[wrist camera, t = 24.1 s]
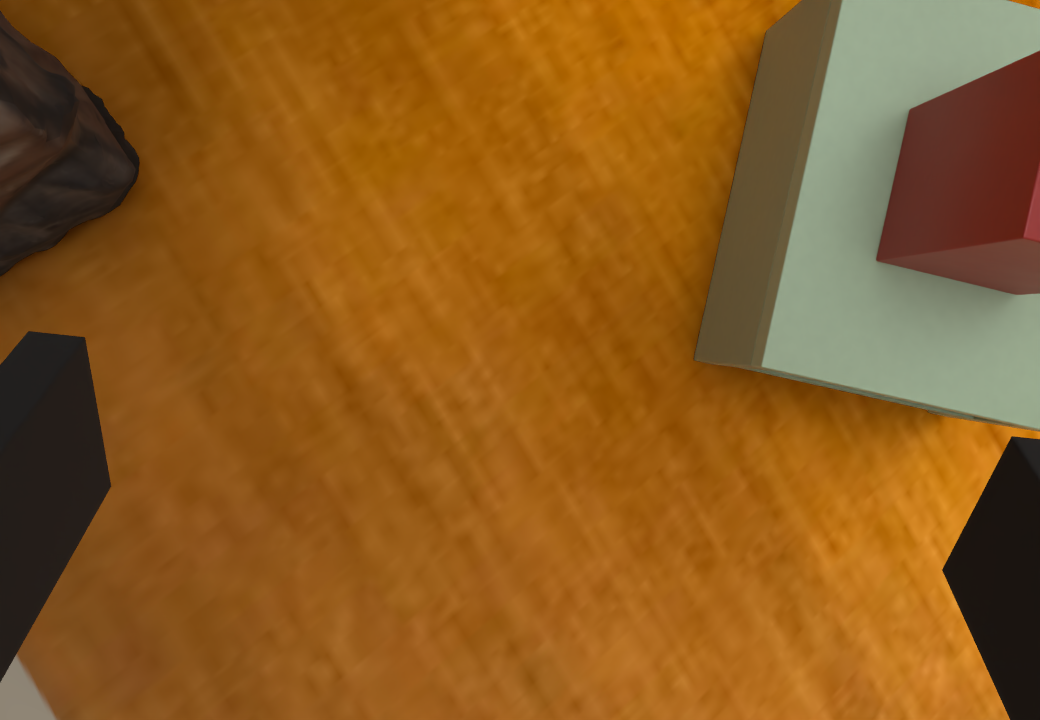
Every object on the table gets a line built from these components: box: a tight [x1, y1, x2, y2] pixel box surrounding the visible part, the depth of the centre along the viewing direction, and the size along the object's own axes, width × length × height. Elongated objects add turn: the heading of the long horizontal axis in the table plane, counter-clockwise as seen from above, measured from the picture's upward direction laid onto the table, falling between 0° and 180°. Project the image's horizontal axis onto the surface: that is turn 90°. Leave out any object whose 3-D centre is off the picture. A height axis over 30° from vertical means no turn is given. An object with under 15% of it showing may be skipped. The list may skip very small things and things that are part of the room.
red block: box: [876, 51, 1040, 295], centre depth 33 cm, size 6×6×9 cm
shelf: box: [694, 0, 1040, 432], centre depth 41 cm, size 16×13×9 cm
